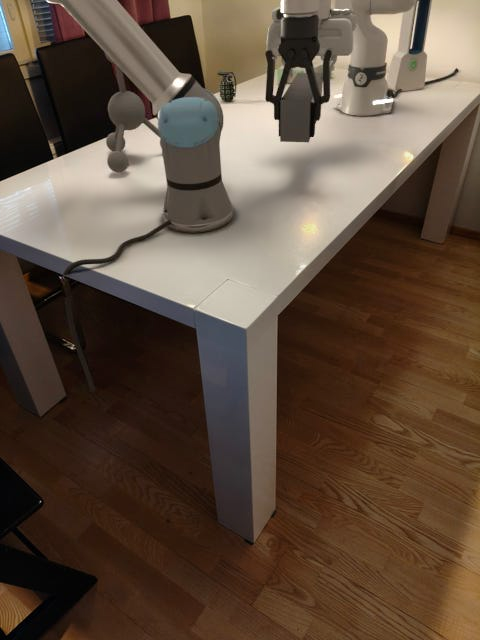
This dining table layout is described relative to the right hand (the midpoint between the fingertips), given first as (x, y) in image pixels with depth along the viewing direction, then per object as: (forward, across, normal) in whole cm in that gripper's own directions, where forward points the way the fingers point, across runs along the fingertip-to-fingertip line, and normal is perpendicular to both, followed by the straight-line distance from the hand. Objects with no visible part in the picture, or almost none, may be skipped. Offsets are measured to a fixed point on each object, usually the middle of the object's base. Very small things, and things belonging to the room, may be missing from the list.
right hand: (308, 76), depth 119 cm
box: (+9, 0, +9) cm, 13 cm away
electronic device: (+20, -28, -80) cm, 87 cm away
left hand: (+8, 0, +19) cm, 21 cm away
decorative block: (+20, +12, -96) cm, 99 cm away
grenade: (+20, +37, -59) cm, 73 cm away
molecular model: (+21, +46, +2) cm, 51 cm away
